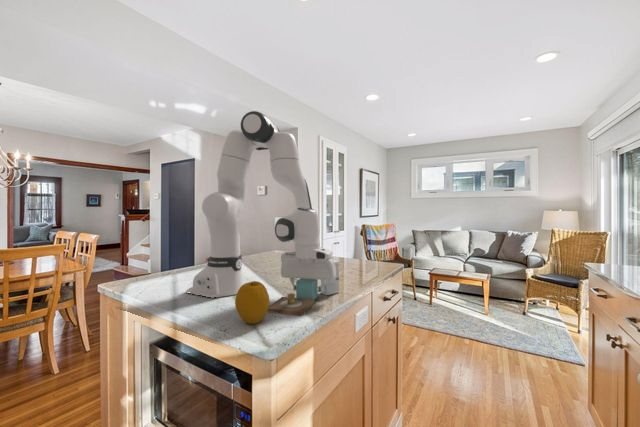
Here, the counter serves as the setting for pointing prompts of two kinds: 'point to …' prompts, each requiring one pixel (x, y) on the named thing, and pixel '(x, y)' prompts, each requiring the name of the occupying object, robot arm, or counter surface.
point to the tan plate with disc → (291, 305)
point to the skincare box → (332, 283)
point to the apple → (252, 302)
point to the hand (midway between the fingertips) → (308, 290)
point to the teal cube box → (307, 288)
